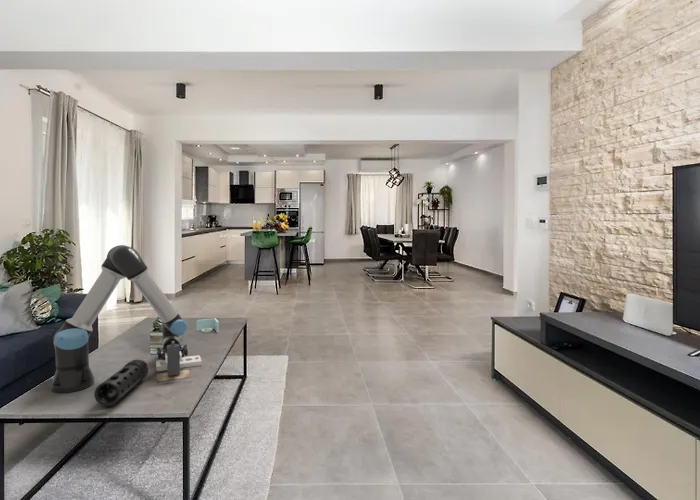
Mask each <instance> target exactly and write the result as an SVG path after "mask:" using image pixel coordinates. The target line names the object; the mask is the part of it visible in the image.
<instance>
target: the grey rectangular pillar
mask: <svg viewBox="0 0 700 500" xmlns="http://www.w3.org/2000/svg"><path fill="white" fill-rule="evenodd" d="M167 360H168V363H167V370H166V371H167V372H166V373H167V374H168V376H173V375H180V371H181V368H180V356H179V344H174V341H172V345H167Z"/></svg>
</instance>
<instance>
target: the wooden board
mask: <svg viewBox="0 0 700 500" xmlns="http://www.w3.org/2000/svg"><path fill="white" fill-rule="evenodd" d="M187 378H192V374H191V371H190V369H184V370H180V375H173V376H168V374H167V372H162V373H156V384H157V383H159V382H163V383H164V382H166V381H169V382H171V381H173V380H177V379H179V380H180V379H183V380H184V379H187Z"/></svg>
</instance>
